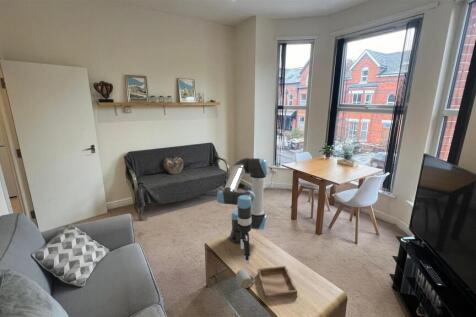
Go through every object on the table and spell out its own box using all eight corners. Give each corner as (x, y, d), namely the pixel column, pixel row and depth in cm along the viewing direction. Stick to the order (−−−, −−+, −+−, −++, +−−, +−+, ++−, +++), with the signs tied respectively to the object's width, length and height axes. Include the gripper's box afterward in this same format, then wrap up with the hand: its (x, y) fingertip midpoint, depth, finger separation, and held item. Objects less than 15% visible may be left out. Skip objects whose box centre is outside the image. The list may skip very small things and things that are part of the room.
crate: (257, 274, 145) (257, 268, 144) (285, 271, 147) (285, 265, 146) (265, 301, 126) (265, 295, 125) (297, 297, 128) (297, 291, 127)
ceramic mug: (241, 291, 132) (241, 280, 130) (235, 281, 139) (235, 271, 137) (257, 284, 137) (257, 274, 135) (250, 275, 144) (250, 265, 142)
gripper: (235, 212, 139) (235, 243, 144) (241, 236, 115) (241, 272, 120) (247, 211, 140) (247, 242, 145) (255, 235, 116) (255, 270, 121)
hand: (244, 256), depth 133 cm, fingers open, 13 cm apart
